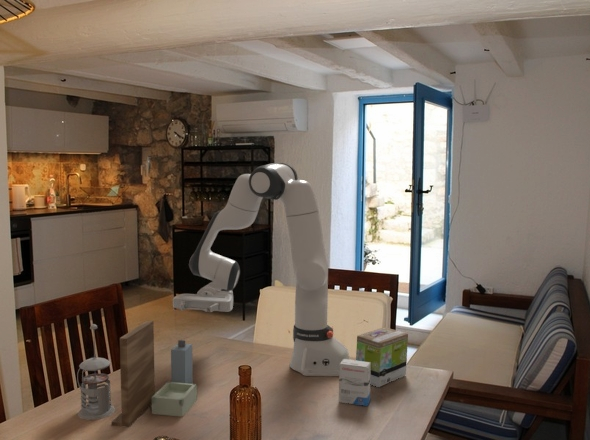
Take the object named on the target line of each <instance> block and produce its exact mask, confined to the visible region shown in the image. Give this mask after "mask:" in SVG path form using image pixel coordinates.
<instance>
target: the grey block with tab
mask: <svg viewBox="0 0 590 440" xmlns="http://www.w3.org/2000/svg"><path fill="white" fill-rule="evenodd" d="M177 341H178V342H177V344H176V345H174V346H173V347H172V348H171V349H170V363H171V364H170V370H171V371H170V374H171V377H170V379H171V381H170V382H178V383H189V384H194V381H193V380H194V376H193V373H194V372H193V370H194V369H193V365H194V363H193V343H186V340H185V339H178V340H177Z"/></svg>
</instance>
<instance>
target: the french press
mask: <svg viewBox="0 0 590 440" xmlns="http://www.w3.org/2000/svg"><path fill="white" fill-rule="evenodd" d="M89 329H90V330H92V332H93V334H95V330H96V329H98V325H97V324H95V323H92V324H91V325H90V327H89ZM95 339H96V338H95V336H93V357H90V358H88V359H85V360H84V361H82V362H81V363H80V364H79V365H78V367H79V369H78V371H77V373H76V376H77V378H76V379H77V380H76V381H77V385H78V387H79V389H80V400H81V401H80V405H81V406H80V407H81V409H80V410H79V411H78V412H77V417H78V418H80V419H81V420H88V421H91V420H93V421H95V420H101V419H103V418H107V417H109V416H110V415H112V414H114V412H115V407H114V406H113V405H112V401H111V399H112V398H111V394H112V393H111V380H110V376H109V375H108V374H106V373H97V371H100V370H105V369H107V368H108V367H109V366H110V365H111V361H110V360H108V359H106V358H104V357H96V346H95V345H96V344H95V343H96V342H95ZM80 370H82V371H81V373H82V374H81V382H82V383H80V382H79V372H80ZM84 372H94V373H92V374H87V375H85V376H84ZM105 383H106V384H105ZM87 396H88V397H87Z"/></svg>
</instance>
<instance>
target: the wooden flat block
mask: <svg viewBox="0 0 590 440" xmlns="http://www.w3.org/2000/svg"><path fill="white" fill-rule="evenodd" d="M154 325H155V324H154V321H153V320H146V321H144V322H143V323H141V324H139V325H138V326H136V327H135V328H133V329H132V330H131V331H128V332H127V333H126V334H124V335H122V336H121V337H119V361H120V362H119V364H120V396H121V397H120V399H121V400H120V403H121V404H120V405H121V407H120V408H121V412H120V413H119V414H118V415H117V416H116V417H115V418H114V419H113V420H112V421H111V426H113V427H121V428H122V427H123V428H130V427H131V426H132V425H133V424H134V423H135V422H136V421H137V420H138V419H139V418H140V417H141V416H142V415H143V414H144V413H145V412H146V411H147V410H148V409H149V408H150V407H152V396H153V395H154V394H155V393H156V390H155V387H156V386H155V383H156V381H155V377H156V376H155V338H154V337H155V333H154V332H155V328H154Z"/></svg>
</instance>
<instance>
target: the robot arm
mask: <svg viewBox="0 0 590 440" xmlns="http://www.w3.org/2000/svg"><path fill="white" fill-rule="evenodd" d="M298 178H299V177H298V173H297V171H296V170H295V168H294V167H293V166H292V165H289V164H288V163H282V162H280V163H268V164H264V165H263V164H262V165H260V166H258V167H256V168H255V169H253V171H252V172H251V173H243V174H241V175H239V176H238V177H237V178H236V180H235V183H234V184H233V186H232V189H231V191H230V194H229V196H228V197H229V198H228V200H227V203H226V205H225V207H224V208H223V209H221V210H217V211H216V212H215V213H214V214H213V216H212V218H211V219H210V221H209V223H208V225H207V227H206V229H205V230H204V233H203V234H202V237H201V239H200V241H199V242H198V245H197V246H196V249H195V251H194V252H193V254H192V255H191V257H190V259H189V263H188V266H189V267H188V268H189V270H190V271H191V273H192V274H193V276H198V277H201V278H204V279H207V280H208V281H209V280H210V281H211V282H209V283H208V284H206V285H204V286H203V287H201V288H200V289H199V290H198V291H197V293H180V294H178V295H176V296H173V298H172V306H173V307H172V308H174V309H179V311H186V310H195V311H196V310H198V311H204V312H207V313H212V312H224V313H225V312H226V313H227V312H231V311H232V310H233V308H234V307H233V306H234V292H233V290H234V289H235V288H236V287H237V284H238V283H239V280H240V276H241V268H240V265H239V263H238V261H236V260H234V259H231V258H229V257H226V256H223V255H220V254H218V253H215V252H213V251H212V250H211V247H212V246H213V244H214V241H215V240H216V238H217V236H218V234H219V232H220V231H223V230H224V231H226V230H233V231H235V230H236V231H237V230H242V229H246V228H248V227H251V225H252V224H254V222H255V220H256V218H257V216H258V213H259V210H260V207H261V204H262V201H263V199H268V200H274V201H276V200H281V201H282V203H283V206H284V207H283V208H284V212H285V219H286V223H287V224H286V225H287V229H288V236H289V243H290V252H291V259H292V267H293V273H294V278H295V297H294V298H295V299H294V324H293V329H292V339H293V347H292V348H293V350H292V356H291V359H290V363H289V367H290V368H291V369H292V370H294V371H295V372H298V373H300V374H301V375H303V376H304V377H308V376H309V377H339V364H340V363H341V361H342V360H343V359H349V360H353V358H352V359H351V358H350V355H349V350H348V347H346V346H345V345H344V344H343V343H342V342H341V341H340V340H338V339H337V338H336V337H334V327H333V326H330V325H329V324H328V308H329V307H328V299H329V297H328V295H329V294H328V292H329V291H328V290H329V288H328V287H329V286H328V285H329V263H328V260H327V255H326V249H325V243H324V242H325V241H324V235H323V229H322V224H321V217H320V216H321V215H320V211H319V207H318V201H317V198H316V194H315V192H314V191H315V190H314V189H313V186H312V184H311V183H310V182H309V181H307V180H303V179H298Z"/></svg>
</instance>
